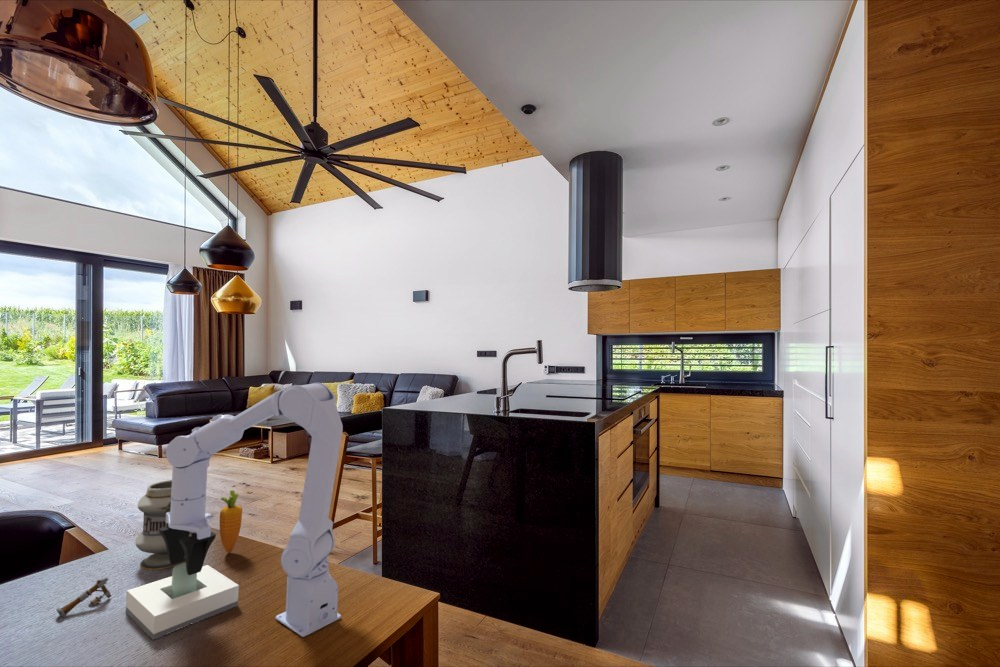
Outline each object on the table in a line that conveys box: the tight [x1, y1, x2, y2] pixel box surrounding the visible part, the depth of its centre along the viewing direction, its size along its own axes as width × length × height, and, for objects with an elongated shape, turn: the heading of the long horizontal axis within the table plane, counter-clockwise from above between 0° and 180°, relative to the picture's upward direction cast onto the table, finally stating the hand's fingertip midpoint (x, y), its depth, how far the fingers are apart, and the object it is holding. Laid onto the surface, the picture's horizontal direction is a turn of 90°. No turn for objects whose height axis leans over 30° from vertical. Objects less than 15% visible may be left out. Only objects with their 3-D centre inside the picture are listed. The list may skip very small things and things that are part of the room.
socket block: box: [125, 564, 240, 641], centre depth 90 cm, size 14×14×4 cm
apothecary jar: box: [135, 479, 192, 571], centre depth 111 cm, size 12×12×18 cm
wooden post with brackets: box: [55, 577, 112, 619], centre depth 90 cm, size 2×8×4 cm, turn 154°
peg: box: [171, 562, 197, 599], centre depth 90 cm, size 4×4×7 cm
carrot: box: [219, 489, 243, 554], centre depth 115 cm, size 5×5×15 cm
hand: (185, 567), depth 91 cm, fingers open, 7 cm apart
